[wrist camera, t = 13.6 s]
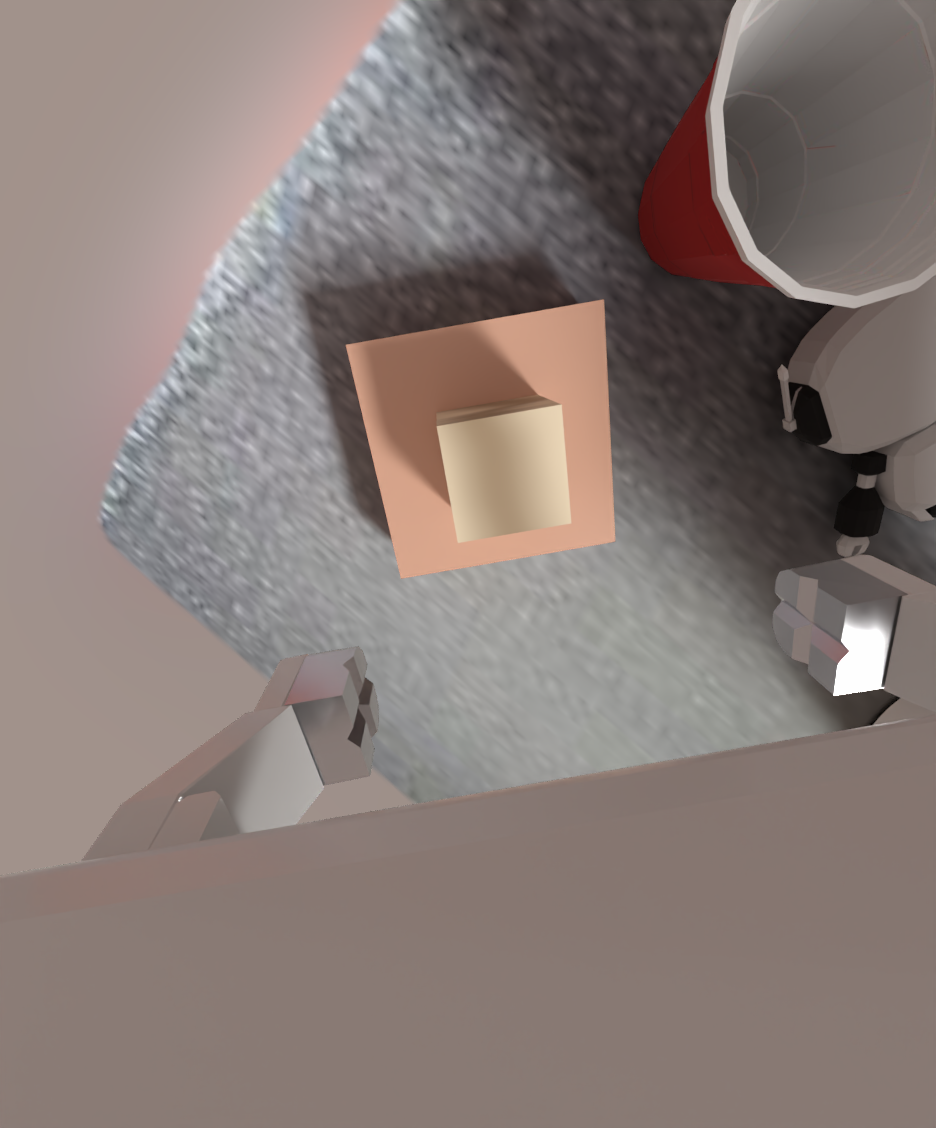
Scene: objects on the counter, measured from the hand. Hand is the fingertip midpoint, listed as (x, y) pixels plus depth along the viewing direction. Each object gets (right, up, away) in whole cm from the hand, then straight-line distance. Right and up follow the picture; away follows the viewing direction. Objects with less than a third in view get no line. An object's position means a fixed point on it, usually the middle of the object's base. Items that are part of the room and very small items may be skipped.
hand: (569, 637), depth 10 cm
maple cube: (-1, +7, +15) cm, 17 cm away
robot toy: (+22, +11, +20) cm, 32 cm away
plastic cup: (+9, +19, +15) cm, 27 cm away
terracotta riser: (-1, +9, +19) cm, 21 cm away
